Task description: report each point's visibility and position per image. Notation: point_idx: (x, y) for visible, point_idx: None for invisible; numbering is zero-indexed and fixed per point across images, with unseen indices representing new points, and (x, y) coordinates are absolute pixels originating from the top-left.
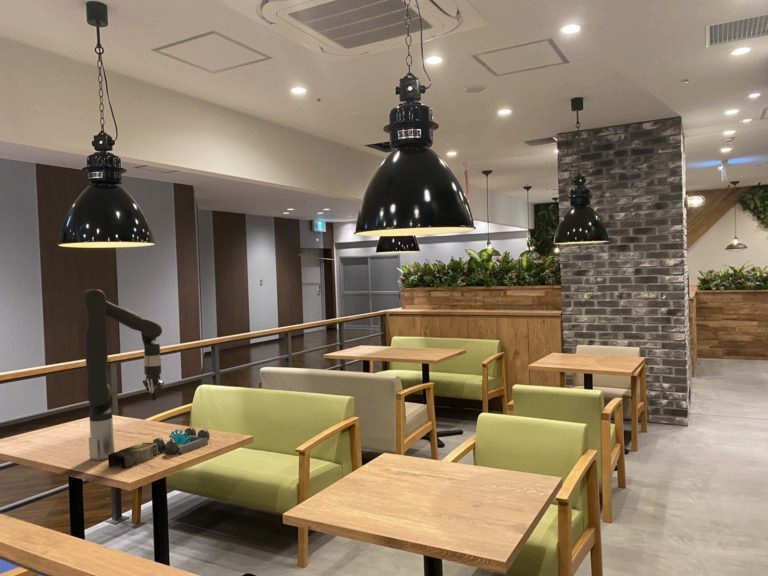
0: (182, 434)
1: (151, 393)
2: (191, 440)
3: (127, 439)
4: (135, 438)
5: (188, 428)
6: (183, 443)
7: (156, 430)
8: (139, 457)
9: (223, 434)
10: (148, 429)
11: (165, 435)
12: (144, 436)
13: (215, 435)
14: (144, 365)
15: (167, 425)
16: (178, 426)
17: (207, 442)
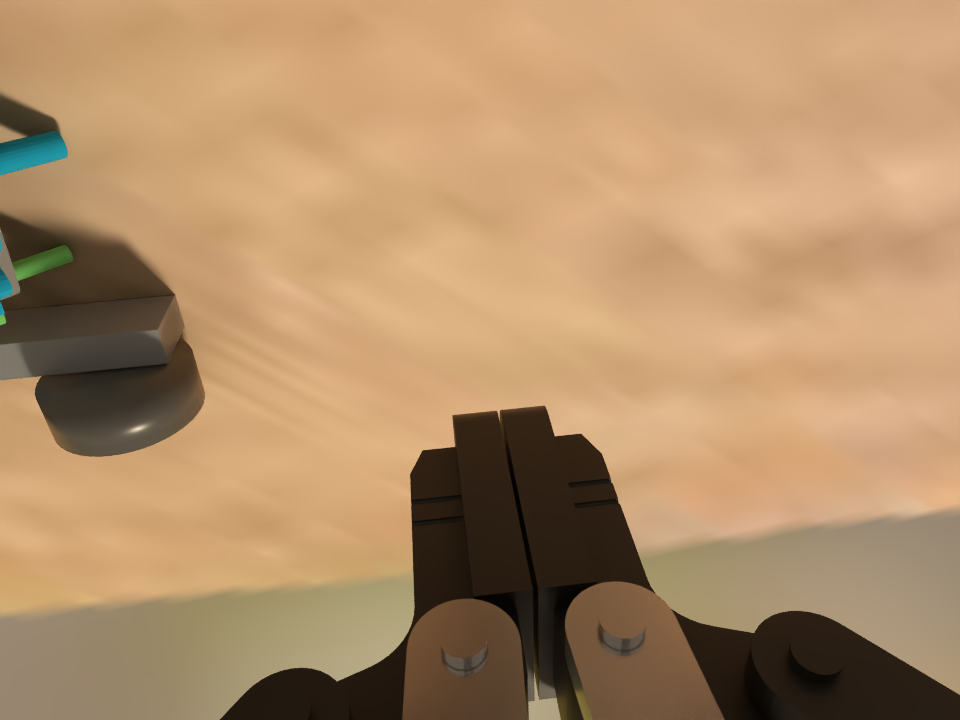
0: None
1: (539, 573)
2: (27, 319)
3: (877, 21)
4: (806, 98)
5: (92, 414)
6: None
7: (793, 376)
8: None
9: (64, 579)
10: (902, 359)
11: (559, 325)
12: (758, 198)
13: (95, 536)
14: None
15: (807, 500)
16: (681, 526)
17: None
